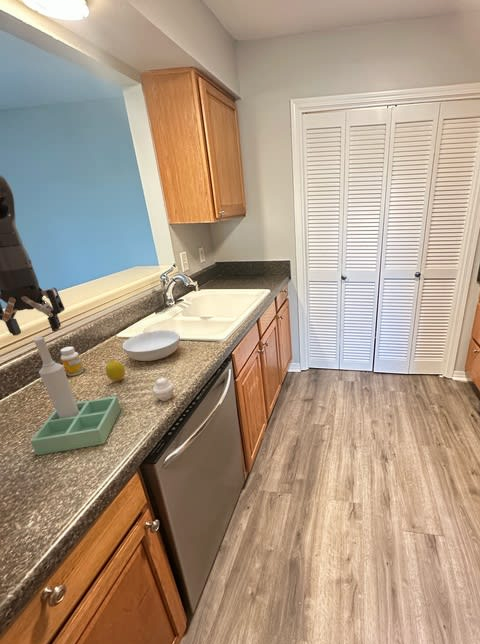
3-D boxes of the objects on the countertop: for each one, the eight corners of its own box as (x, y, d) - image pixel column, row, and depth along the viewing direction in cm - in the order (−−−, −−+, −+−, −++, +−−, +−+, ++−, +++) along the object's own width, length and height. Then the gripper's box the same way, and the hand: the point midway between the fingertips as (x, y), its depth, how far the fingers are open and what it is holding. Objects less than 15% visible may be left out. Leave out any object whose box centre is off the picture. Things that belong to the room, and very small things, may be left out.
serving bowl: (148, 372, 116) (144, 355, 114) (116, 360, 127) (111, 344, 124) (193, 350, 132) (190, 334, 130) (161, 341, 143) (157, 326, 140)
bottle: (60, 429, 87) (24, 345, 77) (61, 419, 91) (27, 338, 81) (82, 422, 89) (50, 339, 80) (82, 412, 93) (52, 333, 84)
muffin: (179, 396, 101) (175, 377, 98) (161, 406, 97) (156, 386, 94) (169, 390, 105) (165, 371, 102) (151, 399, 100) (146, 379, 98)
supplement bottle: (65, 372, 120) (56, 349, 116) (82, 367, 123) (74, 344, 119) (68, 377, 116) (59, 353, 112) (85, 372, 119) (77, 348, 115)
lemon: (108, 387, 108) (101, 366, 105) (110, 379, 113) (103, 359, 110) (127, 382, 110) (120, 362, 107) (127, 375, 115) (121, 355, 112)
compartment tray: (36, 455, 80) (29, 441, 78) (64, 418, 94) (58, 405, 92) (104, 443, 82) (99, 429, 81) (121, 409, 96) (117, 396, 95)
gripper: (-38, 272, 69) (-6, 342, 75) (37, 266, 71) (62, 334, 78) (-15, 266, 75) (13, 330, 82) (53, 261, 78) (75, 323, 84)
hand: (37, 332), depth 80 cm, fingers open, 8 cm apart
